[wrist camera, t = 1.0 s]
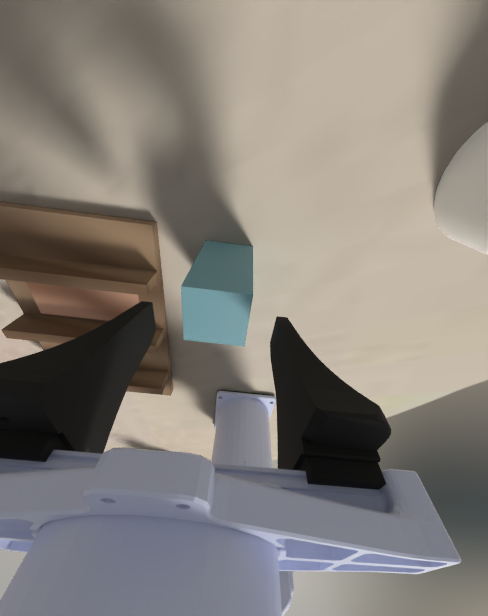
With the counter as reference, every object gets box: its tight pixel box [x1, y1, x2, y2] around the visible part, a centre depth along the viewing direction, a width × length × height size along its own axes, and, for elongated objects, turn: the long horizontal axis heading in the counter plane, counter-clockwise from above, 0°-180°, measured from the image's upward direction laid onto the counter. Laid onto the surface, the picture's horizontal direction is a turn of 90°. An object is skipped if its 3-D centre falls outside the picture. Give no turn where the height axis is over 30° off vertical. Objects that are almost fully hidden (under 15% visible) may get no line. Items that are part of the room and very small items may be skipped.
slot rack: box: [0, 202, 173, 396], centre depth 23 cm, size 22×14×4 cm, turn 173°
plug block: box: [181, 240, 253, 346], centre depth 17 cm, size 4×4×8 cm
